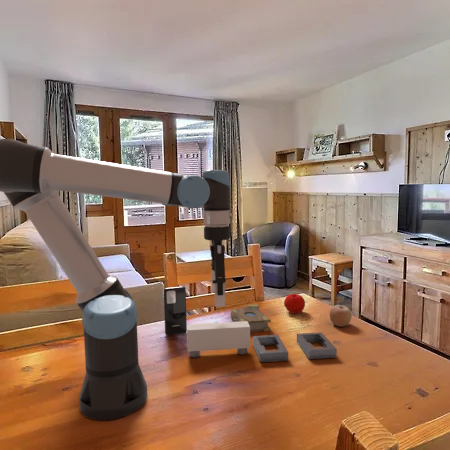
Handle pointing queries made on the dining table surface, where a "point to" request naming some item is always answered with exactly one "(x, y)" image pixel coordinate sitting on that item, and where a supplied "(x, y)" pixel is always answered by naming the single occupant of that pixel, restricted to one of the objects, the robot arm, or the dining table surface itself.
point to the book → (252, 318)
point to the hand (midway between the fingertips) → (218, 298)
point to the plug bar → (218, 337)
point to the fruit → (340, 315)
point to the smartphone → (175, 310)
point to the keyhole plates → (302, 340)
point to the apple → (294, 303)
